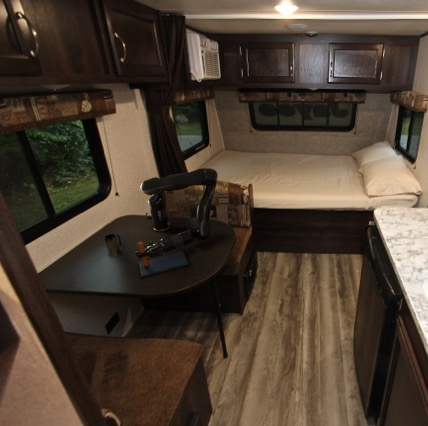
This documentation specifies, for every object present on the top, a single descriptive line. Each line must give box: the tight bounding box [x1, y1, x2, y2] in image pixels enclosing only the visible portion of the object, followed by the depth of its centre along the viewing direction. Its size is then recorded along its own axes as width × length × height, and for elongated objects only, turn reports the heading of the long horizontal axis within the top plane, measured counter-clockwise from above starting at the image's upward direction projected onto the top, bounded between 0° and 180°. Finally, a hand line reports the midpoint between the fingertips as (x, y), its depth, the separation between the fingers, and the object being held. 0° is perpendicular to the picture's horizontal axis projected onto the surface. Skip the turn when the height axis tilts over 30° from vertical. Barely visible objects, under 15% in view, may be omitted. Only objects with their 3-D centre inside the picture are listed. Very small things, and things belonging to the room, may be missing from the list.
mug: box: [104, 233, 122, 258], centre depth 156 cm, size 8×6×12 cm
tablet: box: [138, 250, 190, 279], centre depth 150 cm, size 14×22×1 cm, turn 120°
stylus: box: [137, 241, 149, 268], centre depth 144 cm, size 2×2×14 cm
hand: (137, 255), depth 141 cm, fingers closed on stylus, 2 cm apart
